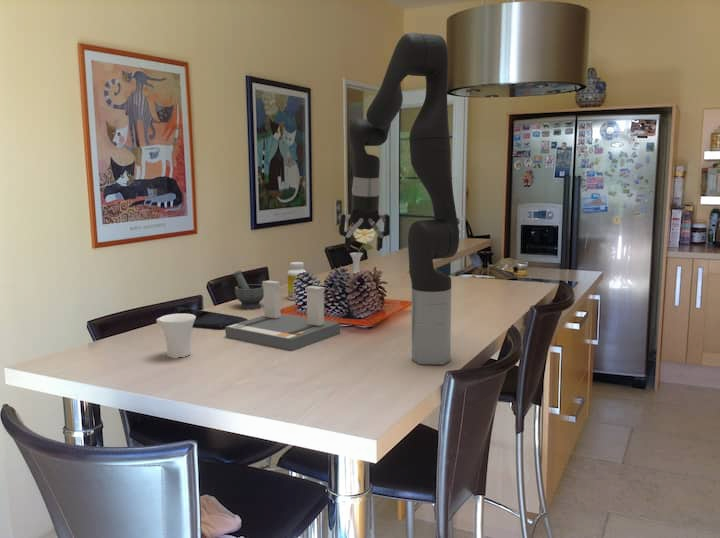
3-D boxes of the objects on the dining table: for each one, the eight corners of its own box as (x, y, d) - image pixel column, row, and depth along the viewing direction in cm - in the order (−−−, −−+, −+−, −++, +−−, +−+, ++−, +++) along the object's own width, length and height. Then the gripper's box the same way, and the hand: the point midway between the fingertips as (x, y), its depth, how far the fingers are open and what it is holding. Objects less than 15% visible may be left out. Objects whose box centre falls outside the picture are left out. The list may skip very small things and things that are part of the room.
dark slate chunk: (217, 334, 177) (217, 317, 176) (162, 325, 188) (161, 309, 187) (253, 322, 190) (252, 307, 189) (199, 314, 201) (199, 300, 200)
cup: (157, 353, 157) (155, 314, 156) (195, 349, 161) (193, 310, 159) (159, 363, 149) (157, 322, 148) (199, 358, 152) (197, 318, 151)
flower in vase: (338, 292, 231) (336, 224, 227) (346, 286, 242) (344, 221, 238) (372, 293, 228) (371, 224, 224) (379, 287, 239) (378, 222, 235)
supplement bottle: (304, 301, 216) (303, 264, 214) (285, 300, 218) (284, 264, 215) (309, 297, 223) (308, 261, 221) (291, 296, 224) (290, 261, 222)
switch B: (269, 314, 183) (268, 280, 181) (281, 316, 180) (280, 281, 178) (263, 316, 180) (262, 281, 179) (275, 318, 178) (274, 283, 176)
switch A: (312, 321, 173) (311, 285, 172) (325, 324, 171) (324, 287, 169) (306, 323, 171) (305, 287, 170) (319, 326, 169) (318, 288, 167)
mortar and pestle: (271, 305, 210) (270, 270, 208) (253, 311, 202) (251, 274, 200) (245, 302, 215) (243, 268, 214) (226, 308, 207) (224, 272, 206)
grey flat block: (275, 322, 187) (275, 311, 187) (339, 333, 174) (339, 321, 173) (225, 337, 171) (225, 325, 171) (292, 350, 158) (291, 338, 157)
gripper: (342, 194, 169) (340, 253, 173) (393, 195, 171) (390, 253, 176) (338, 190, 176) (336, 247, 180) (388, 191, 178) (385, 247, 183)
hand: (363, 250), depth 178 cm, fingers open, 8 cm apart
